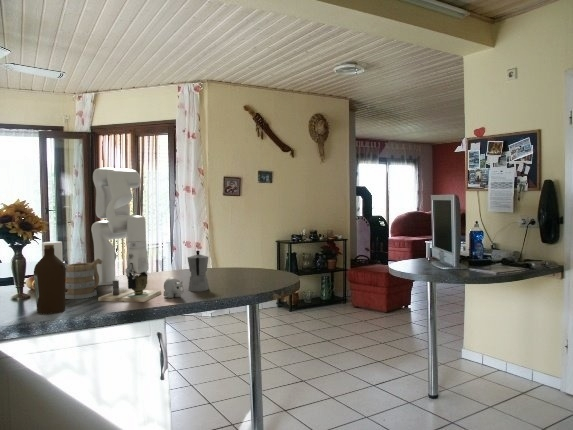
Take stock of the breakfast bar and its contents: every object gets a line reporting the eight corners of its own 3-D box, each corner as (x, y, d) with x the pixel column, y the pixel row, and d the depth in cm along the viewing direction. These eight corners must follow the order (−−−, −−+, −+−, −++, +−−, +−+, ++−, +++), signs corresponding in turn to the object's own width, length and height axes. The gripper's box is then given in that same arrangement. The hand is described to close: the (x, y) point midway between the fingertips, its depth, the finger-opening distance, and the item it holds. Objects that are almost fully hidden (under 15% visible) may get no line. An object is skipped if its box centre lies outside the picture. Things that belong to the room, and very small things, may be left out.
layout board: (98, 301, 183) (97, 282, 183) (119, 293, 199) (118, 276, 199) (143, 301, 180) (143, 283, 180) (161, 293, 196) (160, 276, 196)
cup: (134, 292, 191) (133, 273, 190) (150, 292, 190) (150, 273, 190) (126, 296, 183) (125, 276, 183) (143, 296, 183) (143, 276, 182)
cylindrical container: (48, 302, 182) (46, 241, 181) (66, 302, 183) (64, 241, 182) (40, 306, 175) (38, 243, 174) (59, 306, 176) (57, 242, 175)
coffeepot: (188, 287, 209) (188, 249, 209) (209, 286, 211) (208, 248, 210) (187, 294, 194) (186, 253, 194) (209, 293, 196) (208, 252, 195)
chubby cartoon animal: (173, 301, 179) (173, 280, 179) (161, 297, 189) (160, 277, 188) (189, 299, 184) (189, 278, 184) (176, 294, 193) (176, 275, 193)
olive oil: (67, 306, 174) (65, 243, 173) (66, 312, 164) (64, 245, 163) (36, 310, 169) (34, 244, 169) (33, 316, 160) (31, 247, 159)
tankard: (80, 300, 186) (79, 264, 185) (57, 298, 190) (56, 263, 190) (114, 291, 204) (113, 258, 204) (92, 289, 209) (91, 257, 208)
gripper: (134, 247, 176) (136, 290, 177) (154, 243, 193) (155, 282, 194) (117, 247, 177) (118, 290, 178) (138, 243, 194) (139, 282, 195)
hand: (137, 286), depth 186 cm, fingers open, 9 cm apart
